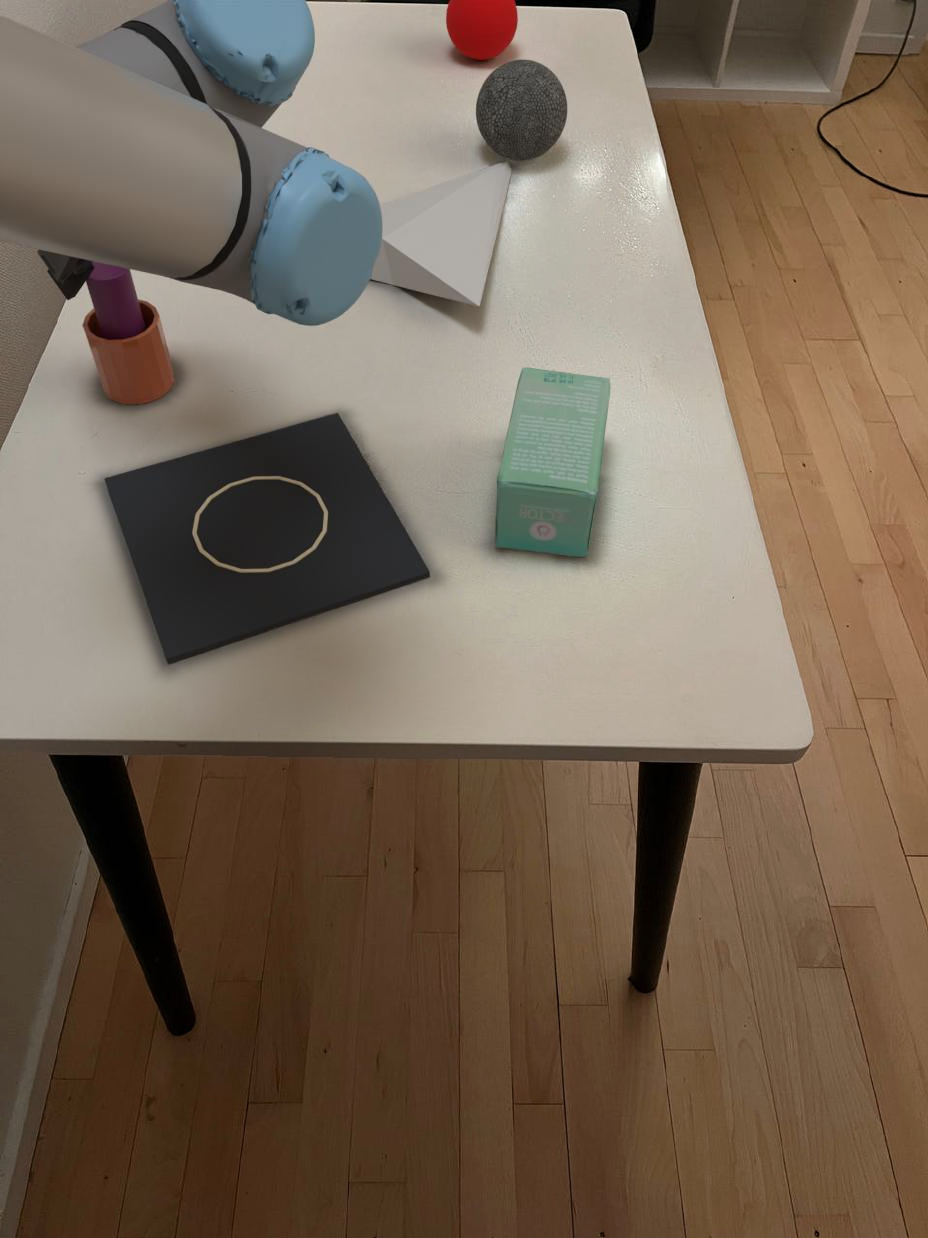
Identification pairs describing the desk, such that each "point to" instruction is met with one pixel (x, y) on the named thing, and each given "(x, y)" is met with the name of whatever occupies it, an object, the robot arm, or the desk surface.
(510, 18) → the ornament
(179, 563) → the felt pad
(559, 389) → the box
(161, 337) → the pen pot
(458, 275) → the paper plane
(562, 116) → the decorative ball
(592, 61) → the desk surface
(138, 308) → the cylinder
